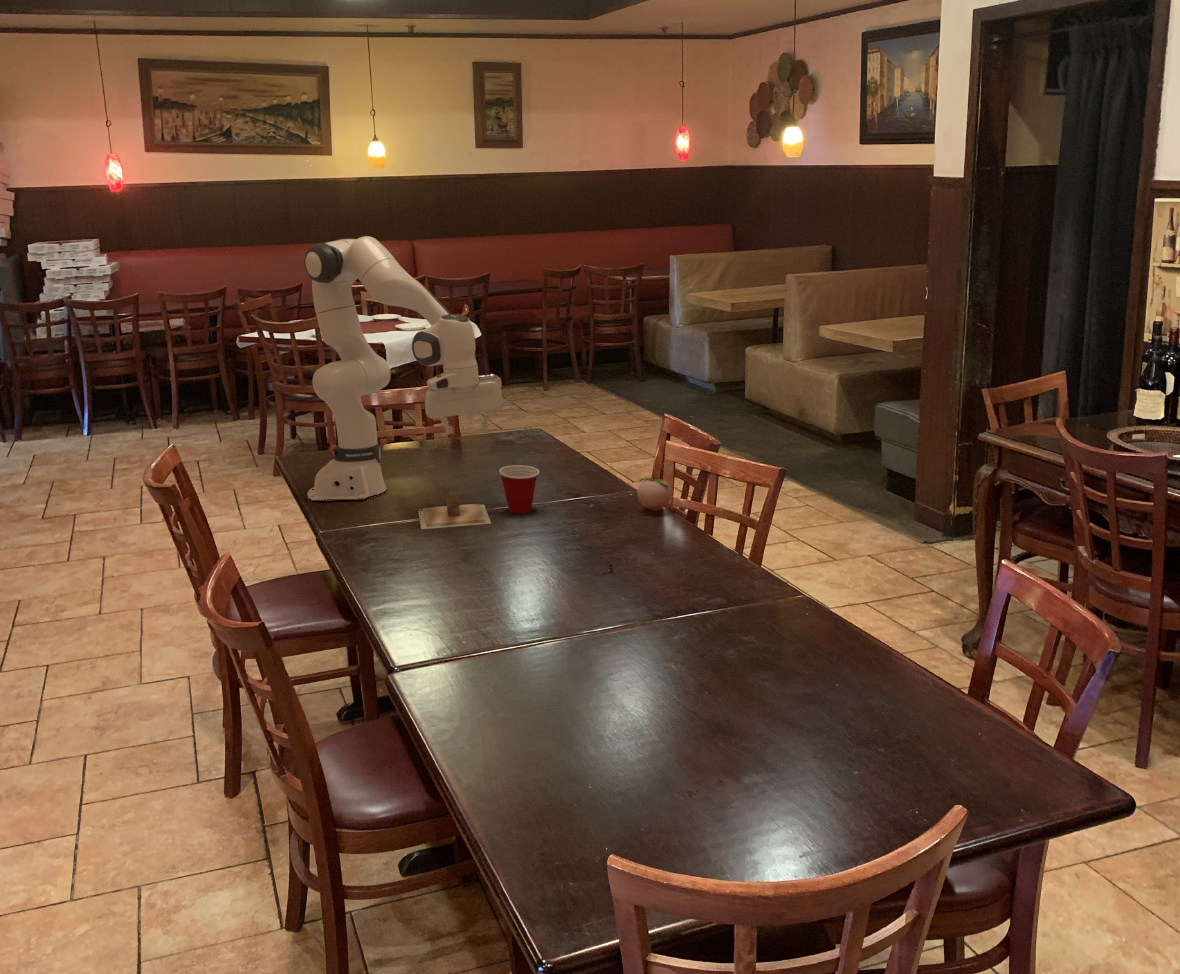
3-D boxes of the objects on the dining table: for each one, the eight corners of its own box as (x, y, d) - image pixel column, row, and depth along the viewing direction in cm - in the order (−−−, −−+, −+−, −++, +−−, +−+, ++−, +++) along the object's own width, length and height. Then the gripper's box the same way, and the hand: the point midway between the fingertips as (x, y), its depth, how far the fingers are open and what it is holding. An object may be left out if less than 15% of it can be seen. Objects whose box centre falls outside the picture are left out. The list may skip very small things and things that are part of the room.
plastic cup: (523, 521, 290) (521, 477, 287) (492, 514, 296) (490, 471, 293) (549, 511, 298) (547, 467, 295) (518, 504, 305) (517, 462, 302)
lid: (426, 526, 286) (425, 509, 284) (423, 510, 300) (422, 493, 299) (484, 522, 288) (483, 504, 287) (479, 506, 303) (478, 489, 301)
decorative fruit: (631, 513, 294) (630, 477, 291) (644, 505, 301) (643, 470, 298) (663, 518, 290) (663, 481, 287) (676, 509, 297) (675, 473, 294)
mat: (421, 531, 284) (421, 529, 284) (418, 511, 301) (418, 509, 301) (491, 525, 287) (491, 523, 287) (484, 506, 304) (484, 504, 304)
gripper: (497, 372, 291) (502, 423, 294) (420, 381, 284) (427, 434, 287) (503, 374, 285) (509, 426, 288) (425, 384, 279) (432, 438, 282)
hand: (467, 430), depth 288 cm, fingers open, 8 cm apart
